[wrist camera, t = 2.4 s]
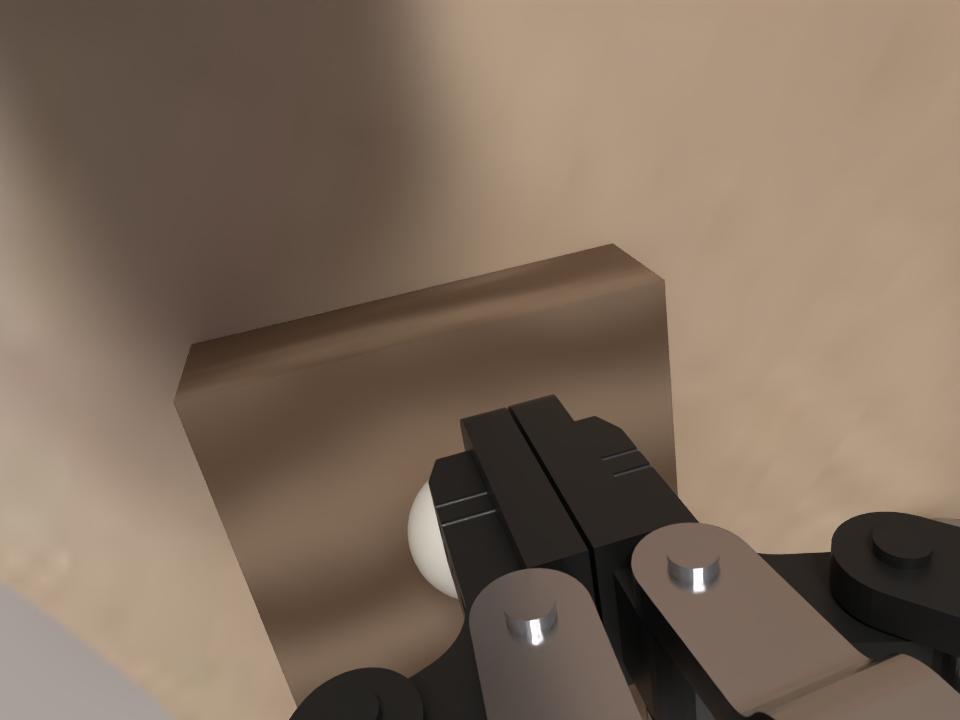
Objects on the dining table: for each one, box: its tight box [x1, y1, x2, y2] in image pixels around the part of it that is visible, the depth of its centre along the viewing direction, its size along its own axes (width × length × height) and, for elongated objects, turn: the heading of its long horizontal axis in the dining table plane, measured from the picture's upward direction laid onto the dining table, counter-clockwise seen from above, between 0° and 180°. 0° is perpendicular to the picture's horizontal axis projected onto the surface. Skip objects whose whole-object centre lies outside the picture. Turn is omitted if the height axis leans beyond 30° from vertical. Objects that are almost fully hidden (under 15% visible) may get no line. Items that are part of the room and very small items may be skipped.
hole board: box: [174, 244, 678, 720], centre depth 31 cm, size 26×16×4 cm, turn 10°
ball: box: [408, 480, 458, 599], centre depth 24 cm, size 4×4×4 cm
